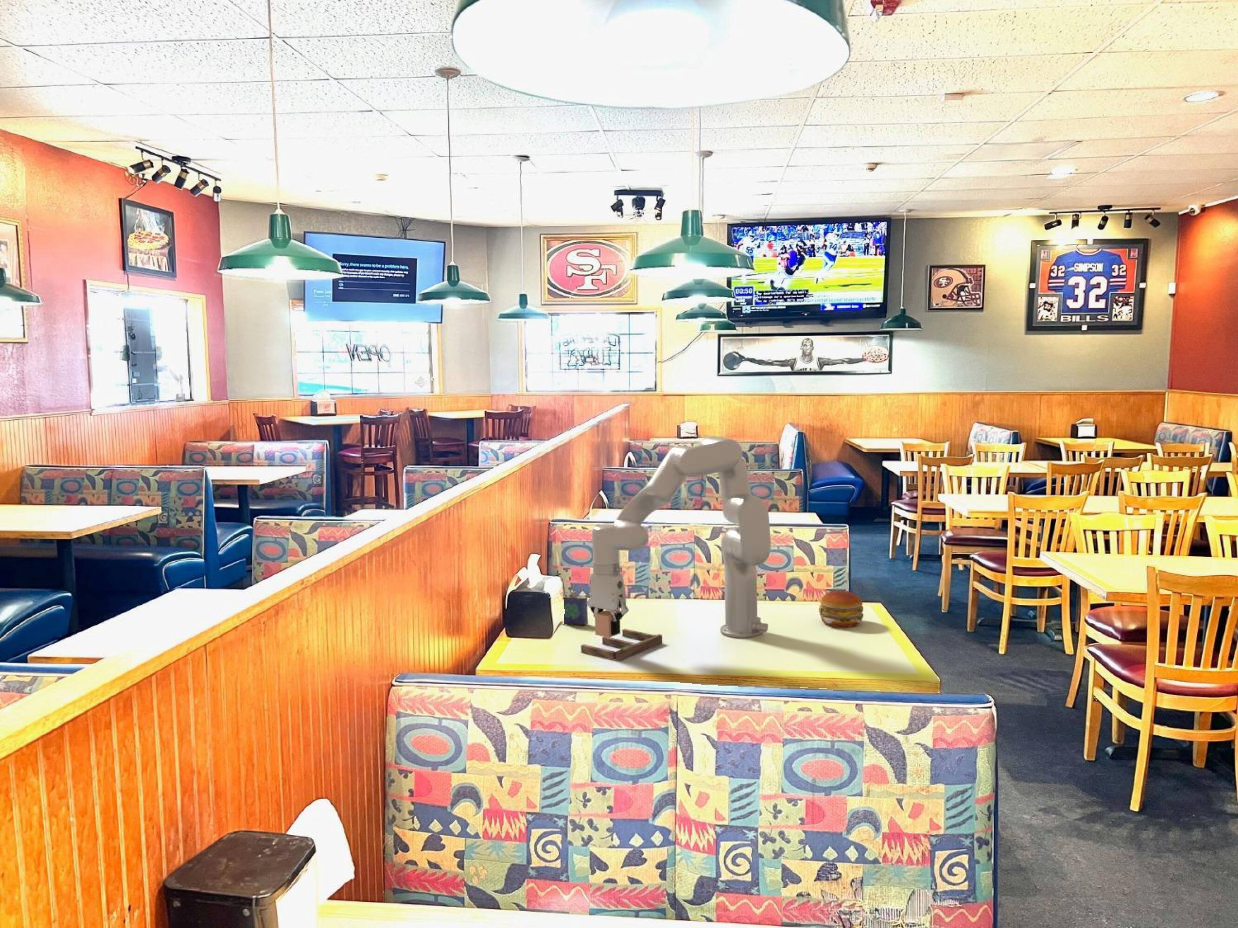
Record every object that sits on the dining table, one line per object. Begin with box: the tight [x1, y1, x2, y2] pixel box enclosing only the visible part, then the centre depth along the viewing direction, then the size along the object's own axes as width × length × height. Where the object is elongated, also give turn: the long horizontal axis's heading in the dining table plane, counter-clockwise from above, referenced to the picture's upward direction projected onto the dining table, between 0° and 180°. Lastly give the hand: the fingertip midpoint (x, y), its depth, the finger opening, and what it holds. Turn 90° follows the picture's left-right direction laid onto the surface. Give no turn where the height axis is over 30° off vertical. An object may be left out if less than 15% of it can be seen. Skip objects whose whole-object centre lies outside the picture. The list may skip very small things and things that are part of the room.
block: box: [594, 609, 621, 638], centre depth 250 cm, size 5×5×6 cm
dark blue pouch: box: [563, 590, 589, 627], centre depth 279 cm, size 9×3×11 cm, turn 68°
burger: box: [818, 590, 864, 628], centre depth 271 cm, size 14×14×10 cm
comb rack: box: [580, 628, 663, 662], centre depth 254 cm, size 14×20×3 cm
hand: (607, 631), depth 250 cm, fingers closed on block, 5 cm apart
